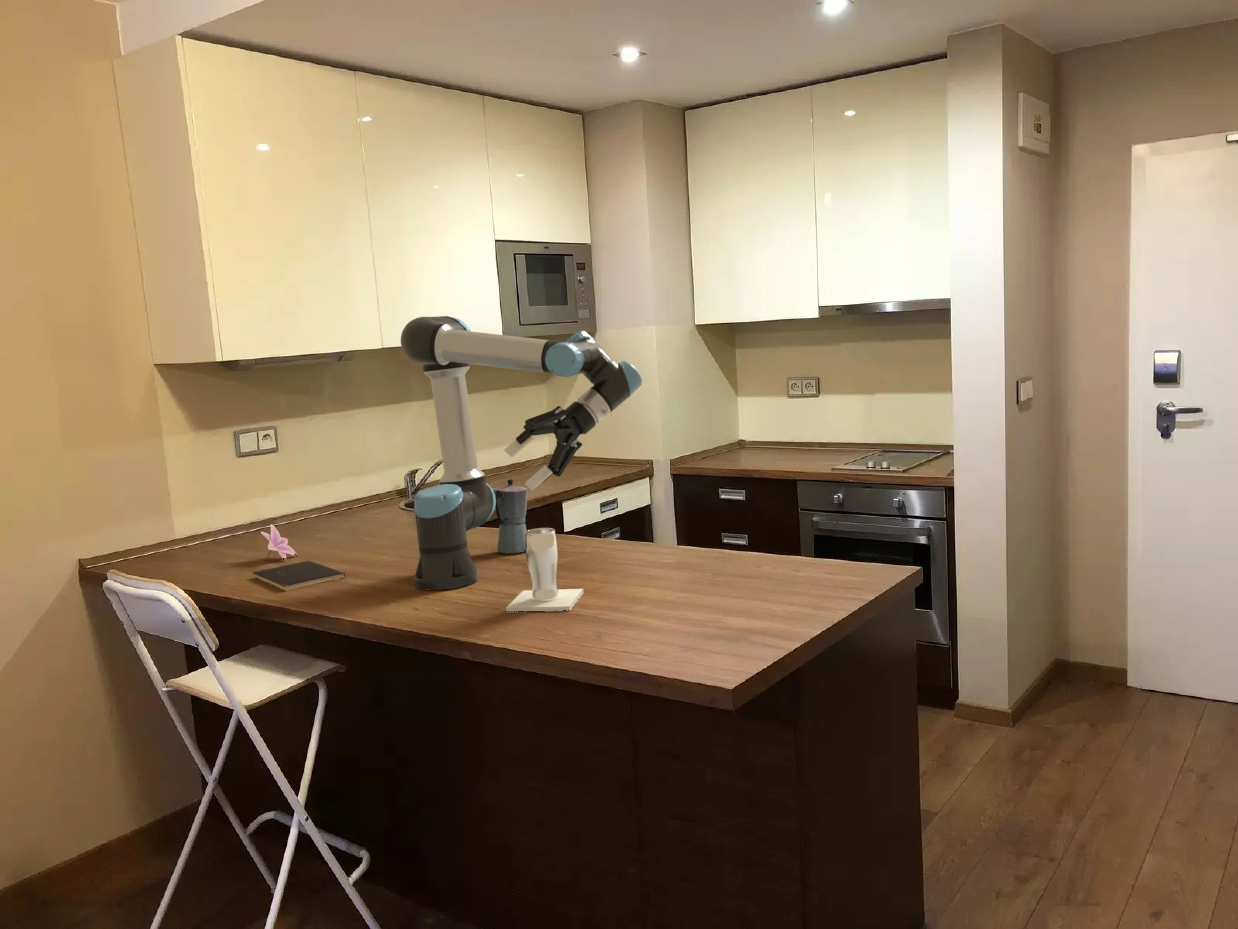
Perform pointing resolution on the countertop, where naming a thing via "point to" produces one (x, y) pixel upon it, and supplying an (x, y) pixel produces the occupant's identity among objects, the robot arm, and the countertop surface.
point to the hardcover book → (298, 574)
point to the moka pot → (511, 517)
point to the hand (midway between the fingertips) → (518, 470)
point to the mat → (562, 603)
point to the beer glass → (542, 563)
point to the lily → (278, 543)
